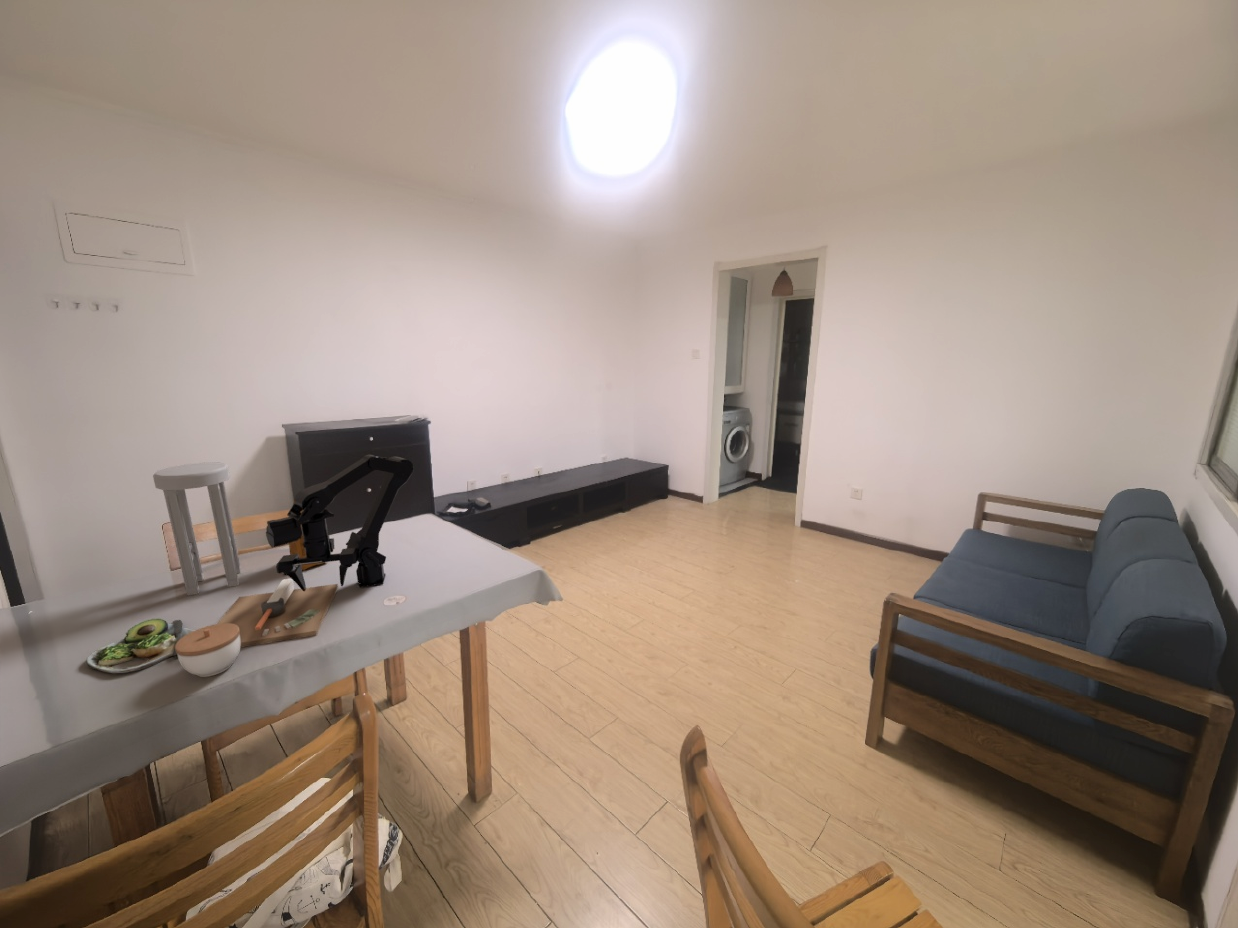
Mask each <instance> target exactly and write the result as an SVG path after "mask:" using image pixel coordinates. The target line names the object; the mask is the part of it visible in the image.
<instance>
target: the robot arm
mask: <svg viewBox="0 0 1238 928" xmlns="http://www.w3.org/2000/svg"><path fill="white" fill-rule="evenodd" d="M414 469H415V467H414V465H413V462H412V461H411V460H409V459H406V458H403V457H400V456H396V455H395V456H391V457H389V458H387V457H382V456H377V455H373V454H366V455H364V456H362V458H361V459H359V460H357V461H355V463H353V464H350V465H349V466H348V467H346V468H345V469H343V470H342V471H340V472H338V473H337V474H335V475H334V476H332V477H330V478H329V479H327V480H326V481H324V482H320V483H317V484H316V483H315V484H312V485H310V486H308V487H306V488H304V489H301V490H299V491H297V493H296V494H295V495H294V500H295V503H294V502H293V503H294V504H293V503H292V506H291V508H290V509H289V511H288V513H287V514H286V516H287V517H283V518H278V519H271V520H267V522H266V524H267V526H266V531H265V536H266V540H267V542H268V544H269V546H270V547H271V548H276V547H277V548H278V547H280V546H284V545H289V543H292V542H296V541H298V540H299V539H301V536H302V534H303V540H304V544H303V547H304V548H305V552H306V557H304V558H300V557H299V555H298V554H293V555H290V554H285V555H283V556H282V557H281V558H280V559H279V560H278V561H277V563H276V566H275V567H276V573H278V574H283V576H288V577H289V579H292V580H293V582H295V584H297V586H298V587H299V589H302V590H303V591H305V590H306V588H307V587H306V582H305V578H304V577H305V576H304V574H303V570H302V565H306V564H315V563H322V564H324V563H323V562H325V563H328V562H329V563H330V562H336V561H339V564H340V565H338V568H339V569H338V570H339V581H340V582H339V583H340V587H343V586H344V584H345V579H346V575H347V571H348V569H349V568H352V567H353V565H355V564H357V563H358V564H357V568H356V571H355V572H356V579H357V583H358V587H359V588H364V587H372V586H373V587H374V586H379V585H383V584H384V582H385V578H386V575H387V574H386V573H385V570H384V564H385V563H386V560H387V559H386V558H387V556H385V555H384V554H382V553H380V552H378V550H379V545H380V539H379V538H380V532H381V530H382V528H383V525H384V523H385V521H386V519H387V516H388V514H389V513H390V510H391V507H392V505H393V504H394V501H395V498H396V496H397V494H398V492H399V490H400V489H401V488H402V487H403V486H404V485H405V484H406V483H407V482H408V481H409V479H410V477H411V476H412V474H413V473H414V471H415V470H414ZM374 471H380V472H382V484H381V485H380V488H379V491H378V493H377V495H376V497H375V499H374V501H373V504H372V506H371V508H370V510H369V512H368V515H367V516H366V519H365V521H364V523H363V526H362V527H361V529H359V531H357V533H356V532H355V531H351V533H350V535H349V539H348V541H346V543H345V545H346V548H342V549H341V552H339V553H333V552H334V550H335V549H336V548H335V538H334V537H332V538H330V535H329V533H328V525H327V519H328V518H332V517H334V516H335V514H334V513H332V512H331V511H329V510H328V509H327V508H328V507H329V506H330V504H332V502H334V500H335V498H336V497H337V496H338V495H339V494H340V493H342V492H343V491H345V490H346V489H348V488H349V487H351V486H352V485H354V484H356V483H357V482H358V481H360V480H361V479H364V478H365V477H366V476H368V475H369V474H370V473H372V472H374ZM302 510H303V512H302V513H300V512H301V511H302ZM301 527H302V529H301Z"/></svg>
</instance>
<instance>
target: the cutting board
mask: <svg viewBox="0 0 1238 928" xmlns="http://www.w3.org/2000/svg"><path fill="white" fill-rule="evenodd" d="M338 588H339V585H338V583H335V584H333V583H332V584H327V585H317V586H313V587H312V586H311V587H306V590H305V591H303V590H302V589H301V588H296V589H295V588H294V590H293V592H292V593H291V595H290V596H289V598H288V600H287V601H286V603H285V612H284V613H283V614H281V615H279V616H276V617H271V618H267V620H266V621H265V623H264V624H263V626H262V627H261V629H260V630H255V627H256V625H257V624H258V622H259V621H260V620H261V618H262V617H263V613H262V608H261V604H262V603H263V602H264V601H266V600H268V599H270V597H271V596H272V594H273V593H274V592H266V593H259V594H251V595H244V596H238V598H236V600H235V601H234V602H233V604H232V605H231V606H230V607H229V609H228V610H227V611H226V612H225V614H224V615H223V616H222V617H221V618H220V620H219V621H218V622H216V624H222V623H231V624H235V625H237V626H238V627H239V629H240V638H241V647H240V648H244V647H250V646H258V645H263V644H269V643H275V642H282V641H287V640H295V639H300V638H305V637H312V636H317V635H318V633H319V630H320V629H321V626H322V624H323V622H324V619H326V618H325V617H326V615H327V613H328V610H329V608H330V606H331V604H332V602H333V600H334V597H335V596H336V593H337V591H338Z"/></svg>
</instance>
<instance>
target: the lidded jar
mask: <svg viewBox="0 0 1238 928" xmlns="http://www.w3.org/2000/svg"><path fill="white" fill-rule="evenodd" d="M241 648H242V647H241V638H240V629H239V627H238V626H237V625H235V624H231V623H222V624H217V623H216V624H211V625H207V626H204V627H201V628H199V629H195V630H193V632H191V633H189V634H187V635H186V636H184V637H182V638H181V639H180V640H179V641H178V642H177V643H176V645H175V651H176V653H177V655H176V656H177V659H178V661H179V663H180V665H181V666H182V668H183V669H184V670H185V671H186V672H188V673H189V674H191V675H195V676H198V677H199V678H208V677H212V676H216V675H219V674H221V673H223V672H225V671H227V670H228V669H229V668H230V667H231V666H232V665H233V663H234V662H235V661H236V659H237V658H238V656H239V654H240V651H241Z"/></svg>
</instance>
